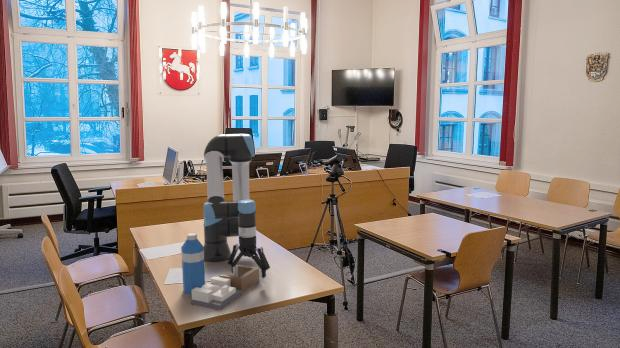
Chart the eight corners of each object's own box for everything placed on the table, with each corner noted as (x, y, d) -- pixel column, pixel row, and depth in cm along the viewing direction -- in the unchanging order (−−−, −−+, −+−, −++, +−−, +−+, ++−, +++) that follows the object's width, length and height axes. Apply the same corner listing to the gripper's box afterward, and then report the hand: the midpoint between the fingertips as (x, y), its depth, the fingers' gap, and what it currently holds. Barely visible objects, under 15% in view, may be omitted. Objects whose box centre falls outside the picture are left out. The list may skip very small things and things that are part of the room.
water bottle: (185, 286, 203) (182, 231, 199) (206, 285, 204) (204, 231, 200) (181, 295, 194) (178, 237, 190) (203, 294, 195) (201, 237, 191)
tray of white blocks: (191, 312, 186) (190, 289, 184) (214, 296, 200) (213, 276, 199) (220, 318, 180) (219, 295, 179) (242, 302, 195) (241, 280, 193)
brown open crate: (219, 288, 200) (219, 275, 199) (238, 276, 214) (238, 264, 213) (242, 292, 196) (241, 279, 195) (259, 280, 209) (259, 267, 209)
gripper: (218, 234, 201) (220, 281, 204) (268, 240, 191) (269, 289, 194) (228, 230, 208) (229, 275, 211) (277, 236, 198) (277, 283, 201)
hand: (248, 282), depth 203 cm, fingers open, 13 cm apart
